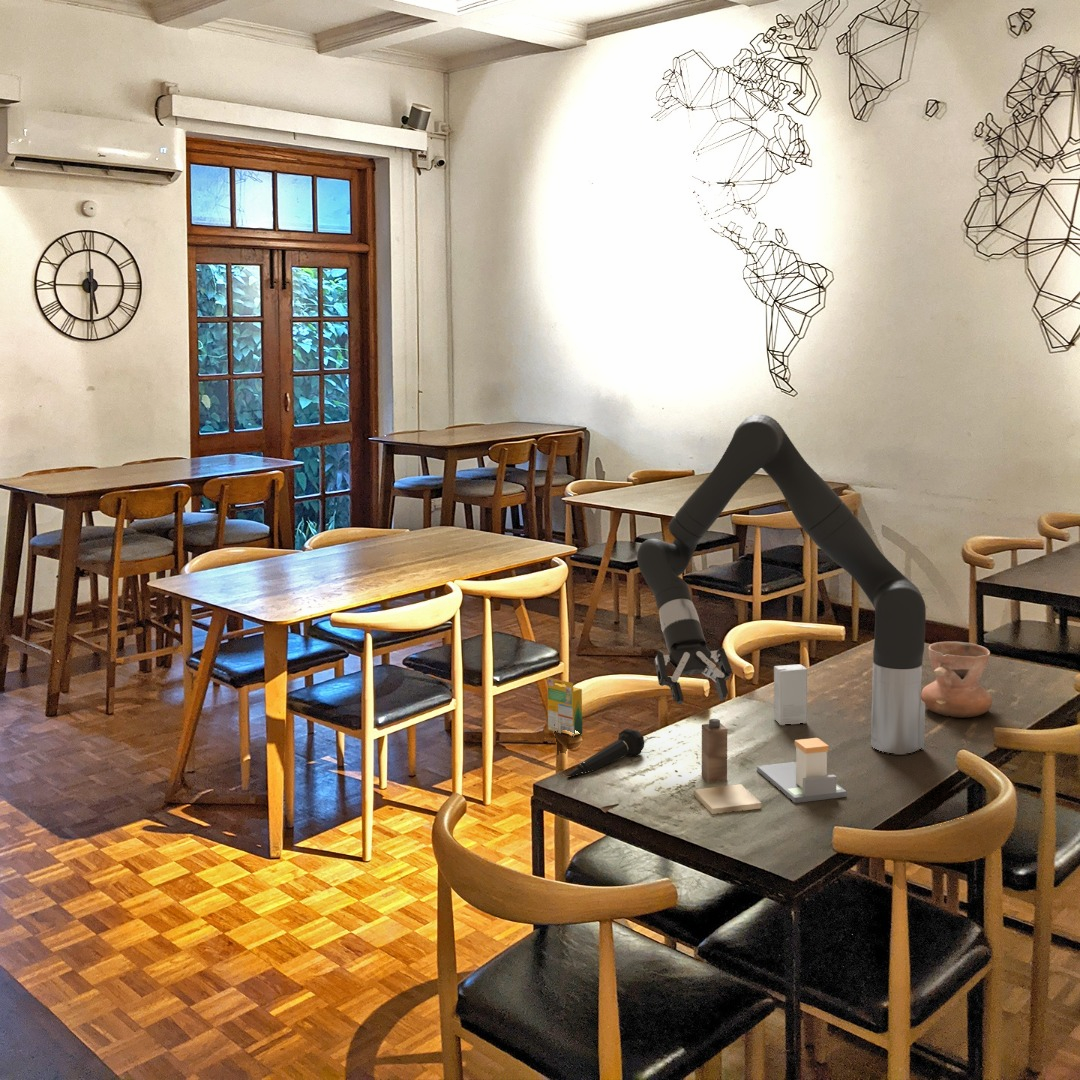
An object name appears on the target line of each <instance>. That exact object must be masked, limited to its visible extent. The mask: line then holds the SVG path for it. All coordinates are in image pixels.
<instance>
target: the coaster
mask: <svg viewBox="0 0 1080 1080" xmlns="http://www.w3.org/2000/svg"><path fill="white" fill-rule="evenodd" d="M693 796H695V798H696V799H697V800H698V801H699V802H700V803H701V804H702V805H703V806H704V807H705V808H706V809H707V810H708V812H710V814H712V815H717V813H719V814H724V813H723V812H727V813H733V812H732V811H735V812H741V811H742V810H743V811H748V810H758V809H762V802H761V801H760V800H759V799H758V798H757V797H755V795H753V794H752V793H751V792H750V791H749V790H748V789H747V788H745V787H744V786H743V784H741V783H739V784H732V785H731V784H730V785H721V786H713V787H705V788H696V789H693Z"/></svg>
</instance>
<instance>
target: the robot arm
mask: <svg viewBox="0 0 1080 1080" xmlns="http://www.w3.org/2000/svg"><path fill="white" fill-rule="evenodd" d="M760 469H762V470H763V472H765V473H766V475H768V476H769V477H770V478H771V479H772V481H773V482H774V483H775V484H776V485H777V487H778V488H779V490H780V492H781V494H782V495H783V497H784V499H785V501H786V503H787V505H788V507H789V509H790V511H791V513H792V515H793V516H794V518H795V519H796V521H797V522H798V525H800V527H801V528H802V530H804V531H805V533H806V534H807V536H808V537H809V538H810V539H811V540H812V541H813V543H815V545H816V546H818V548H819V549H820V550H821V552H823V553H824V554H825V555H826V556H827V557H829V558H830V559H831V560H832V561H833V562H835V564H837V565H838V566H840V567H841V568H842V569H843V570H844V571H845V572H847V573H848V575H850V576H851V578H852V579H854V580H855V582H856V583H857V584H858V586H859V588H861V590H862V591H863V593H864V594H865V596H867V598H868V600H869V602H870V603H871V605H872V606H873V608H874V613H875V614H874V616H875V617H874V642H873V643H874V644H873V648H872V649H873V650H872V653H873V655H872V684H871V685H872V690H871V728H870V729H871V730H870V731H871V732H870V746H871V745H872V746H871V748H872V747H873V748H872V749H874V748H875V749H877V750H879V751H878V752H880V751H882V752H881V753H884V752H891V753H909V752H914V751H916V750H918V749H921V748H924V749H925V729H926V728H925V726H926V725H925V724H926V723H925V722H926V706H925V702H923V701H922V700H921V692H922V688H923V686H922V683H923V682H922V681H923V657H924V651H925V638H926V636H925V635H926V619H927V617H926V616H927V615H926V612H927V608H926V603H925V600H924V597H923V595H922V593H921V591H920V589H919V587H917V586H916V585H915V584H914V583H913V582H912V581H910V580H909V579H908V578H907V577H906V576H905V575H904V574H903V573H901V571H900V570H899V569H897V568H896V566H895V565H894V564H892V563H891V562H890V561H889V559H888V558H886V557H885V555H884V554H883V552H881V550H880V549H879V548H878V546H877V545H876V543H875V542H874V540H873V538H872V537H871V535H870V534H869V532H868V531H867V530H866V528H865V527H864V526H863V524H862V523H861V522H860V521H859V519H858V518H857V517H856V515H855V514H854V513H853V512H852V511H851V509H850V508H849V507H848V505H846V503H845V502H844V501H843V500H842V498H841V497H840V496H838V495H837V493H836V492H835V491H834V490H833V489H832V488H831V487H830V485H828V483H827V482H826V481H825V480H824V479H823V477H822V476H820V475H819V474H818V473H817V472H816V471H815V470H814V469H813V467H811V465H809V463H808V462H807V461H806V460H805V458H804V457H803V456H802V454H801V453H800V451H798V449H797V448H796V446H795V445H794V443H793V442H792V440H791V439H790V438H789V436H788V434H787V433H786V431H785V430H784V428H783V427H782V425H781V424H780V423H779V422H778V421H777V420H776V419H775V418H773V417H772V416H770V415H767V414H763V413H761V414H760V413H757V414H752V415H750V416H748V417H746V418H745V419H743V421H742V422H741V423H740V424H739V425H738V426H737V428H736V429H735V431H734V433H733V435H732V438H731V440H730V442H729V444H728V446H727V448H726V449H725V451H724V453H723V455H722V456H721V458H720V460H718V462H717V464H716V466H715V467H714V468H713V470H712V471H711V472H710V474H709V475H708V476H707V477H706V478H705V480H703V482H702V483H701V484H699V486H698V487H697V488H696V490H694V491H693V493H692V494H691V495H690V496H689V497H688V498H687V500H685V502H684V503H683V504H682V505H681V507H680V508H679V509H678V511H677V512H676V513H675V515H674V516H673V517H672V518H671V520H670V521H669V524H668V531H669V532H670V534H671V535H672V536H673V538H674V540H672V542H671V543H670V542H667V541H664V540H661V539H657V538H649V539H648V538H647V539H645V540H644V541H643V542H642V543H641V544H640V545H639V548H638V550H637V554H636V561H637V566H638V569H639V571H640V573H641V575H642V577H643V580H645V583H646V585H647V586H648V588H649V589H650V591H651V592H652V594H653V596H654V599H655V603H656V607H657V610H658V614H659V623H660V628H661V631H662V633H663V638H664V641H665V644H666V645H665V646H666V648H667V651H668V654H664V653H662V652H661V651H660V652H657V654H656V656H655V658H654V665H655V671H656V675H657V681H658V685H660V686H661V687H663V686H667V687H668V688H669V689H670V693H671V696H672V699H673V702H675V703H676V704H677V705H682V704H683V702H684V694H683V690H682V688H681V687H682V686H681V684H680V682H679V681H678V680H679V678H680V677H681V675H682V674H683V675H685V677H687V676H690V675H701V674H703V675H704V676H705V677H706V678H710V679H711V680H712V681H713V682H715V688H716V692H717V693H716V694H717V695H718V699H719V701H725V700H726V698H727V695H728V694H729V689H728V687H727V683H726V681H728V680H730V678H731V675H732V674H733V669H732V667H731V665H730V661H729V658H728V656H727V653H726V650H725V649H724V647H721V646H720V647H719V648H718V649H717V650H710V649H709V648H708V646H707V641H706V638H705V635H704V632H703V628H702V626H701V625H702V624H701V622H700V617H699V614H698V611H697V609H696V607H695V605H694V602H693V599H692V595H691V591H690V589H689V586H688V584H687V582H686V581H685V580H684V579H683V578H681V577H680V576H681V575H682V574H683V573H684V572H685V571H686V570H687V568H688V566H689V564H690V562H691V560H692V558H693V555H694V553H695V550H696V548H697V547H698V546H697V545H698V543H699V542H700V540H701V539H702V538H703V537H704V536H705V534H706V533H707V532H708V530H710V528H711V527H712V526H713V524H714V523H715V522H716V520H717V519H718V518H719V516H720V515H721V514H722V512H723V511H724V510H725V508H726V506H727V505H728V504H729V502H730V501H731V499H732V498H733V497H734V496H735V494H736V493H737V492H738V491H739V490H740V488H741V487H743V485H744V484H745V483H746V482H747V481H748V480H749V479H750V478H752V476H754V475H755V474H756V473H757V472H758V471H759V470H760ZM710 659H713V660H714V662H715V663H714V662H713V661H711V660H710ZM668 663H670V664H671V666H673V667H674V668H675V670H674V672H673V674H672V676H668V672H667V665H668ZM716 663H717V665H718V667H717V665H716ZM875 749H874V750H875ZM877 750H876V751H877ZM921 750H922V749H921ZM883 751H884V752H883ZM918 751H919V750H918Z"/></svg>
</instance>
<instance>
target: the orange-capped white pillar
mask: <svg viewBox="0 0 1080 1080" xmlns="http://www.w3.org/2000/svg"><path fill="white" fill-rule="evenodd" d="M794 747H795V748H796V750H795V762H796V783H797V784H798V785H799V786H800V787H802V788H803V778H808V777H817V776H825V775H827V772H828V771H827V770H828V767H827V765H828V760H827V759H828V752H830V751H829V750H830V748H829V747H830V746H829V745H828V744H827V743H825V742H824V741H823V740H821V739H820V738H818V737H811V738H801V739H795V740H794Z"/></svg>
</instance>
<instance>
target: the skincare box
mask: <svg viewBox="0 0 1080 1080" xmlns="http://www.w3.org/2000/svg"><path fill="white" fill-rule="evenodd" d="M773 719H774V721H775V720H776V721H777V722H778V723H779V724H778V723H777V722H776V721H775V722H776V723H777V724H778V725H780V726H786V725H785V724H791V725H801V724H800V723H803V724H807V723H808V669H807V668H806V667H805V666H804V665H802V664H800V663H799V664H786V665H785V664H784V665H775V666H774V665H773Z"/></svg>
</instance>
